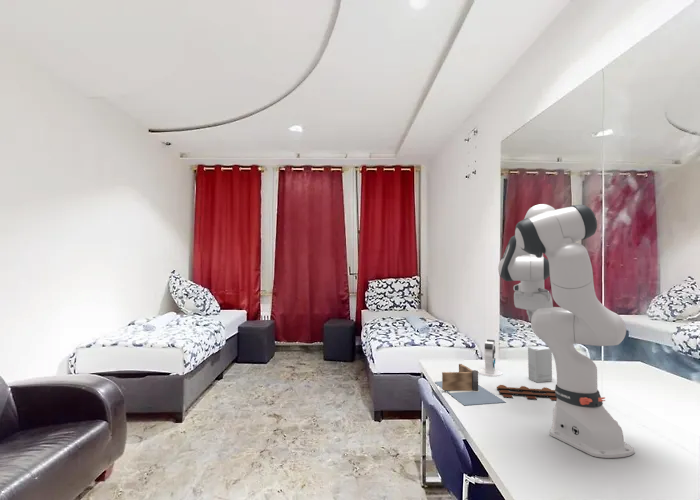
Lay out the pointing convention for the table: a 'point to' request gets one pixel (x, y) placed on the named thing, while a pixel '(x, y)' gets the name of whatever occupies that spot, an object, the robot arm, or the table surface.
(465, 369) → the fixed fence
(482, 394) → the card
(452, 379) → the swing panel
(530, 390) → the decorative fence
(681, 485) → the table surface
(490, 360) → the white upright piece
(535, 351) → the skincare box
